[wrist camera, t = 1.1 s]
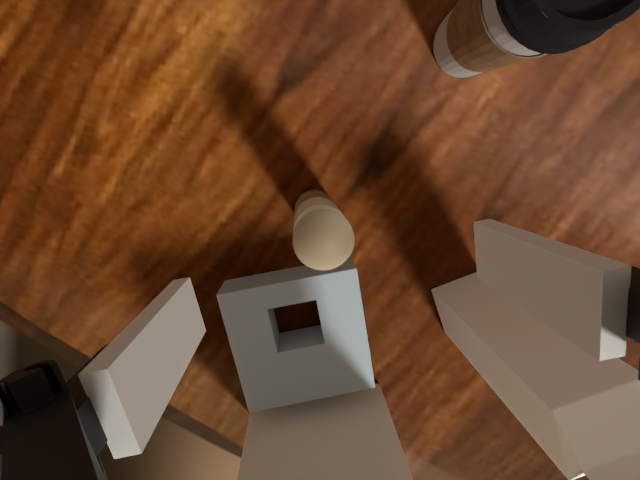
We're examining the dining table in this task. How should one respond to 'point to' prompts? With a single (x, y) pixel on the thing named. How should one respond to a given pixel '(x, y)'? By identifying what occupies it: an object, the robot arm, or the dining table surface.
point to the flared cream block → (325, 441)
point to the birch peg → (321, 232)
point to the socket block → (297, 336)
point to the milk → (548, 382)
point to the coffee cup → (520, 31)
